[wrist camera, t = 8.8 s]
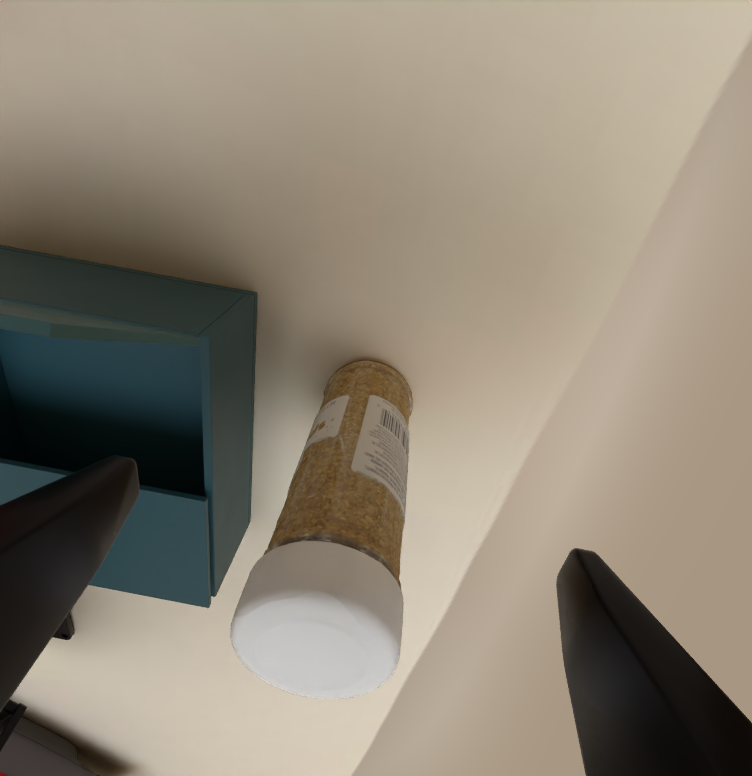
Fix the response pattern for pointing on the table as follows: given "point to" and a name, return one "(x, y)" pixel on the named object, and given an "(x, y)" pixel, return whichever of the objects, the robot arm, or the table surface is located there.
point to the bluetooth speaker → (39, 754)
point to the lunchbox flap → (82, 327)
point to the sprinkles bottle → (335, 548)
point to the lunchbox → (137, 413)
